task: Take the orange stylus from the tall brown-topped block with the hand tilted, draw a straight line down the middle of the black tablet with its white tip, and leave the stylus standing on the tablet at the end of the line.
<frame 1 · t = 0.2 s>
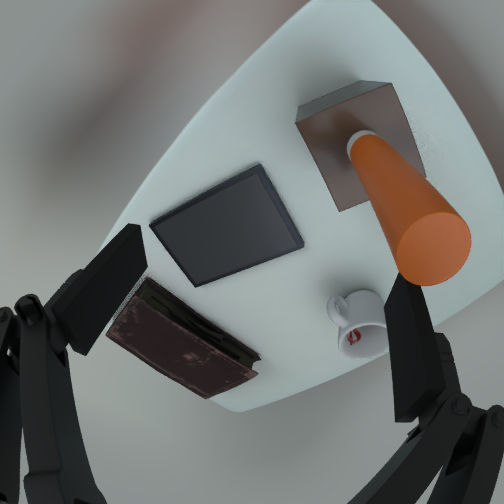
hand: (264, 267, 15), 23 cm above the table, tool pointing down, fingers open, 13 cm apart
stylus: (366, 149, 20), point 12 cm above the table, touching tall brown-topped block
diary: (183, 337, 55), on the table
tall brown-topped block: (345, 124, 30), on the table
tablet: (223, 231, 41), on the table
cup: (354, 298, 43), on the table
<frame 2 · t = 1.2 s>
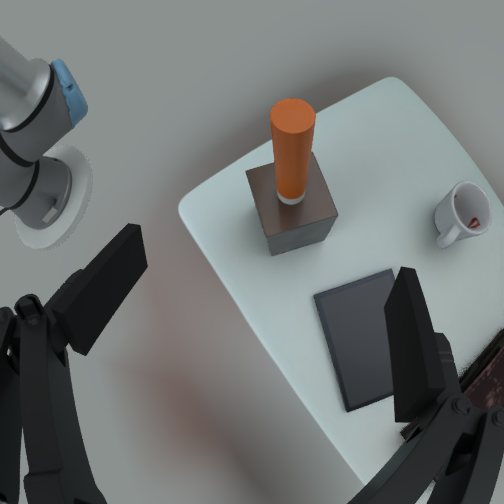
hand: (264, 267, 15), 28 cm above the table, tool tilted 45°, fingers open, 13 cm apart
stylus: (291, 191, 32), point 12 cm above the table, touching tall brown-topped block
diary: (474, 410, 35), on the table
tall brown-topped block: (289, 222, 44), on the table
tablet: (370, 341, 39), on the table
cup: (443, 228, 41), on the table
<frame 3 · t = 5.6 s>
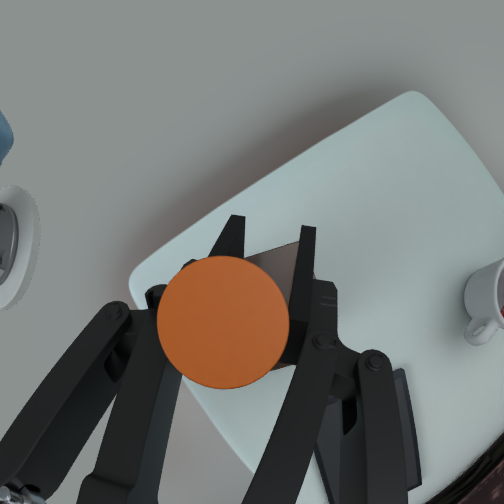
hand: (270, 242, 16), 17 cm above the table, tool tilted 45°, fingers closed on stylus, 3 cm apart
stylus: (264, 312, 20), point 12 cm above the table, touching gripper, tall brown-topped block
diary: (477, 494, 23), on the table
tall brown-topped block: (272, 310, 32), on the table
tablet: (367, 450, 27), on the table
cup: (473, 305, 29), on the table
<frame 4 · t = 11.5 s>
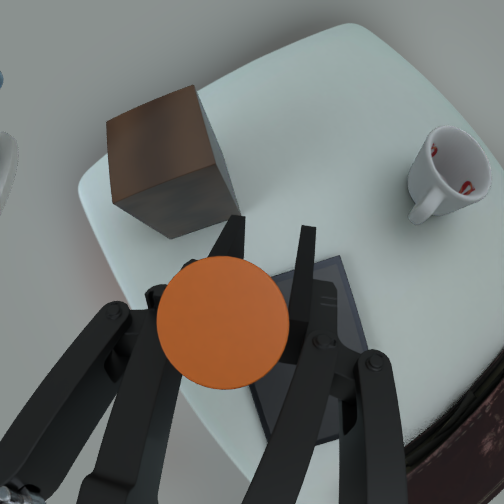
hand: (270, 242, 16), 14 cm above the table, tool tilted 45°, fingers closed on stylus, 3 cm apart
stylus: (264, 313, 20), point 9 cm above the table, touching gripper
diary: (465, 451, 23), on the table
tall brown-topped block: (196, 194, 32), on the table
tablet: (307, 361, 28), on the table
cup: (422, 199, 30), on the table
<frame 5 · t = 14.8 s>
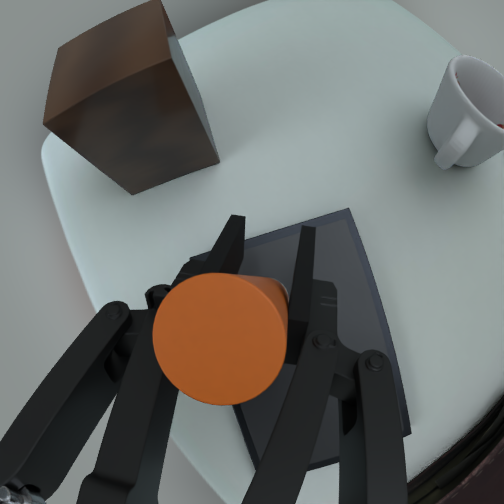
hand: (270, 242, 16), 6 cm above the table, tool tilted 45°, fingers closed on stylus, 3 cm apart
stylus: (266, 299, 20), point 1 cm above the table, tilted 5°, touching gripper
diary: (499, 463, 15), on the table
tall brown-topped block: (166, 141, 25), on the table
tablet: (307, 354, 20), on the table
cup: (446, 149, 22), on the table
when the fingers open (6 cm above the table, at t = 17.6 s): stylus stays where it is, resting on tablet.
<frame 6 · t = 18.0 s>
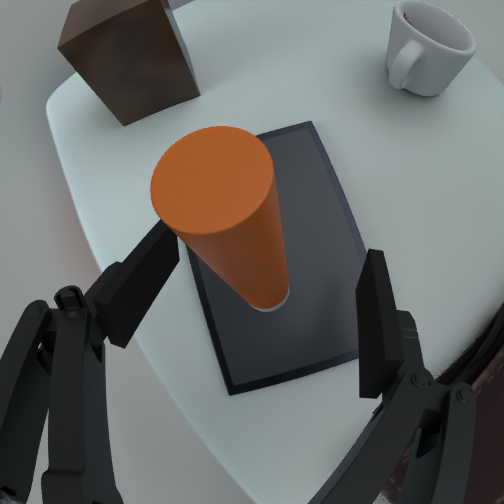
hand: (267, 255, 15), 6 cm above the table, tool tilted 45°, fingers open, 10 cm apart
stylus: (266, 289, 20), point 1 cm above the table, tilted 8°, touching tablet
diary: (501, 405, 17), on the table
tall brown-topped block: (156, 84, 26), on the table
tablet: (275, 250, 22), on the table
cup: (407, 83, 23), on the table
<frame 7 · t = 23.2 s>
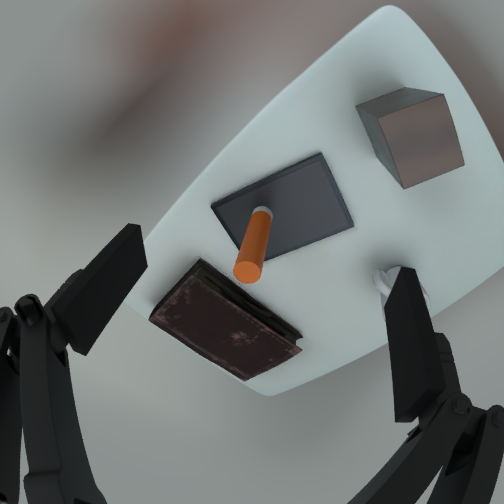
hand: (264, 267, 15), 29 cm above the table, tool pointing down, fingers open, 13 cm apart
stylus: (262, 215, 44), point 1 cm above the table, touching tablet
diary: (227, 319, 59), on the table
tall brown-topped block: (392, 123, 35), on the table
tablet: (282, 212, 45), on the table
cup: (391, 274, 48), on the table
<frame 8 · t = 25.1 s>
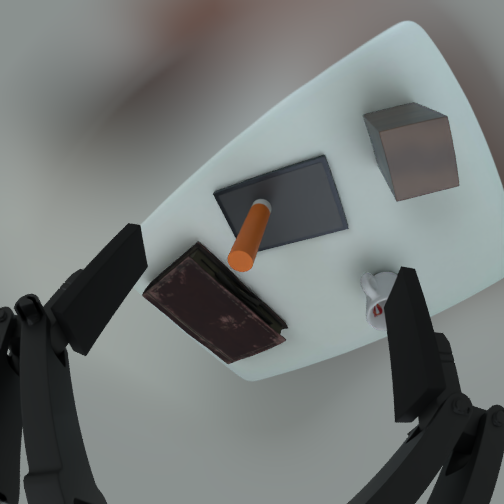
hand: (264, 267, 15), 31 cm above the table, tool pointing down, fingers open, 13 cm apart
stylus: (261, 207, 46), point 1 cm above the table, touching tablet
diary: (218, 302, 62), on the table
tall brown-topped block: (396, 134, 36), on the table
tablet: (281, 207, 46), on the table
cup: (379, 278, 50), on the table
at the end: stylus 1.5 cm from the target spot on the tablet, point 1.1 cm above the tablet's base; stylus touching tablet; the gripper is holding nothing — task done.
